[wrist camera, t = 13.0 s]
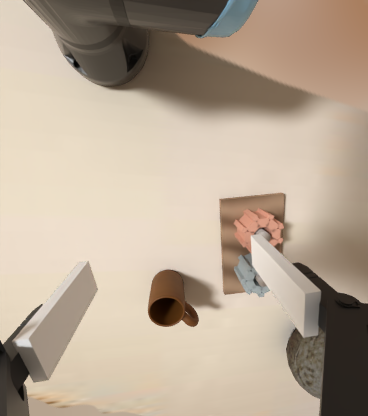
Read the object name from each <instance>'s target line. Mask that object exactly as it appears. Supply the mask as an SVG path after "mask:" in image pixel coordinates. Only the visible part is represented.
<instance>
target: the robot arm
mask: <svg viewBox="0 0 368 416" xmlns="http://www.w3.org/2000/svg"><path fill="white" fill-rule="evenodd" d="M23 1H24V2H25V3H26V4H27V5H28V6H29V7H30V8H31V9H32V10H33V11H34V12H35V13H36V14H37V15H38V16H39V17H40V18H41V19H42V20H43V21H44V22H45V23H46V24H47V25H48V26H49V27H50V28H51V29H52V31H53V34H54V36H55V39H56V41H57V43H58V46H59V48H60V50H61V52H62V53H63V55H64V57H65V58H66V59H67V61H68V62H69V63H70V64H71V66H72V67H73V68H74V69H75V70H77V71H78V72H79V73H80V74H81V75H82V76H83V77H85V78H86V79H88V80H89V81H91V82H93V83H96V84H99V85H103V86H117V85H121V84H124V83H126V82H128V81H130V80H131V79H132V78H134V77H135V76H136V75H137V74H138V72H139V71H140V70H141V68H142V67H143V65H144V63H145V60H146V57H147V53H148V46H149V37H148V29H149V30H157V31H166V32H174V33H183V34H191V35H195V36H196V37H197V38H204V37H207V36H209V37H229V36H231V35H232V34H233V33H235V32H237V31H238V30H239V29H240V28H241V27H242V26H243V25H244V23H245V22H246V21H247V19H248V18H249V16H250V15H251V13H252V11H253V9H254V8H255V6H256V4H257V2H258V0H23ZM251 252H252V266H253V267H254V268H255V270H256V271H257V273H258V274H259V275H260V277H261V278H262V280H263V281H264V283H265V284H266V285H267V287H268V288H269V290H270V291H271V292H272V294H273V295H274V297H275V298H276V300H277V301H278V302H279V304H280V305H281V307H282V308H283V309H284V311H285V312H286V314H287V315H288V317H289V318H290V319H291V321H292V322H293V324H294V325H295V326H296V328H297V329H298V331H299V332H300V334H301V335H302V336H303V338H304V337H310V336H316V335H318V328H319V327H320V328H321V329H322V331H323V332H324V333H325V337H324V348H323V349H324V351H323V367H322V382H321V397H320V413H319V416H368V304H364V303H361V302H360V301H359V300H357V299H356V298H354V297H352V296H350V295H347V294H344V293H338V292H336V291H335V290H334V289H333V288H332V287H331V286H329V285H328V284H327V283H326V282H325V281H323V280H322V279H321V278H320V277H318V275H316V274H315V273H313V271H312V270H311V269H309V268H308V267H307V266H305V265H303V264H301V263H293V264H292V263H291V262H290V261H288V260H287V259H286V258H285V257H284V256H283V255H282V254H281V253H280V252H279V251H278V250H277V249H276V248H275V247H273V246H272V245H271V244H270V243H269V242H268V241H267V240H266V239H265V238H264V237H263V236H262V235H261V234H257V235H251ZM97 290H98V289H97V286H96V282H95V279H94V276H93V273H92V270H91V267H90V264H89V261H85V262H79V263H78V264H77V265H76V266H75V268H74V269H73V270H72V271H71V272H70V274H69V275H68V276H67V277H66V278H65V279H64V281H63V282H62V283H61V284H60V285H59V287H58V288H57V289H56V290H55V291H54V292H53V294H52V295H51V296H50V297H49V298H48V299H47V301H46V302H45V303H44V304H41V305H40V306H38V307H37V308H36V309H35V310H33V311H32V312H31V313H30V314H29V316H28V317H27V318H26V320H24V321H23V322H22V324H21V325H20V326H19V327H18V328H17V329H16V330H15V332H14V333H13V334H12V335H11V336H10V337H9V338H8V339H7V341H6V342H5V343H4V344H3V345H2V343H1V341H0V416H29V408H28V399H27V390H26V386H25V384H24V381H25V380H26V378H27V377H28V375H30V377H31V379H32V380H33V382H39V381H46V380H49V379H50V377H51V375H52V373H53V371H54V369H55V368H56V366H57V364H58V362H59V360H60V358H61V357H62V355H63V353H64V351H65V349H66V347H67V345H68V344H69V342H70V340H71V338H72V336H73V334H74V333H75V331H76V329H77V327H78V325H79V323H80V322H81V320H82V318H83V316H84V314H85V312H86V311H87V309H88V307H89V305H90V303H91V301H92V299H93V298H94V296H95V294H96V292H97Z"/></svg>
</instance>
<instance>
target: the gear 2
mask: <svg viewBox="0 0 368 416" xmlns="http://www.w3.org/2000/svg"><path fill="white" fill-rule="evenodd" d="M238 259H239V260H240V261H239V264H238V266H235V267H234V271H235V273H236V275H237V277H238V279H239V281H240V282H241V284H242V286H243V288H244V290H245V292H246V293H248V294H249V295H250V294H251V293H252V292H253V293H257V294H258V296H259V297H264V293H266V292H268V291H270V290H269V288H268V287H267V286H265V287H262V286H260V285H259V283H258V282H257V280H256V279H255V275H256V274H258V273H257V271H256V270H255V268H254V267H253V266H252V254H251V253H249V254H247V255H245V256H242V255H240V256H239V257H238Z"/></svg>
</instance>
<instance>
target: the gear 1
mask: <svg viewBox="0 0 368 416" xmlns="http://www.w3.org/2000/svg"><path fill="white" fill-rule="evenodd" d="M243 212H244V215H243V216H242V217H241V218H240V220H235V222H234V225H235V226H236V227H237V232H236V233H234V235H235V237H236V239H237V240H238V241H239V242H240V244H241V245H242V246H243V247H246V248H247V249H248V250H249V252H250V253H251V254H252V252H251V235H254V233H255V232H256V231H257V230H258V229H259V228H260V227H261V228H262V229H263V230H265V231H266V232H267V233H269V234H270V236H271V238H270V241H269V243H270V244H271V245H272V246H273V247H274V246H275V245H276V244H277V243H280V244H281V243H282V241H283V238H281V237H280V232H281V229H283V228H284V226H283V224H282V223H281V222H279V221H278V220H276V219H274V216H273V215H272V214H270V213H268V212H266V211H265V210H263V209H260V208H258V210H257V211H255V212H251V211H250V210H248V209H247V210H245V211H243Z"/></svg>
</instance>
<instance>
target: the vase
mask: <svg viewBox="0 0 368 416" xmlns="http://www.w3.org/2000/svg"><path fill="white" fill-rule="evenodd" d="M324 337H325V333H324V332H323V331H322V329H321V328H320V327H319V328H318V335H316V336H310V337H304V338H303V336H302V335H301V334H300V332H299V331H298V329H297V328H296V329H295V331H294V333H293V334H292V335H291V337H290V338H289V341H288V344H287V348H286V351H287V358H288V364H289V367H290V369H291V371H292V374H293V376H294V377H295V379H296V381H297V382H298V383H299V385H300V386H301V387H302V388H304V389H305V390H306V391H307V392H308V393H310V394H311V395H312V396H314V397H317V398H319V399H320V397H321V382H322V367H323V351H324V349H323V348H324Z"/></svg>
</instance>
